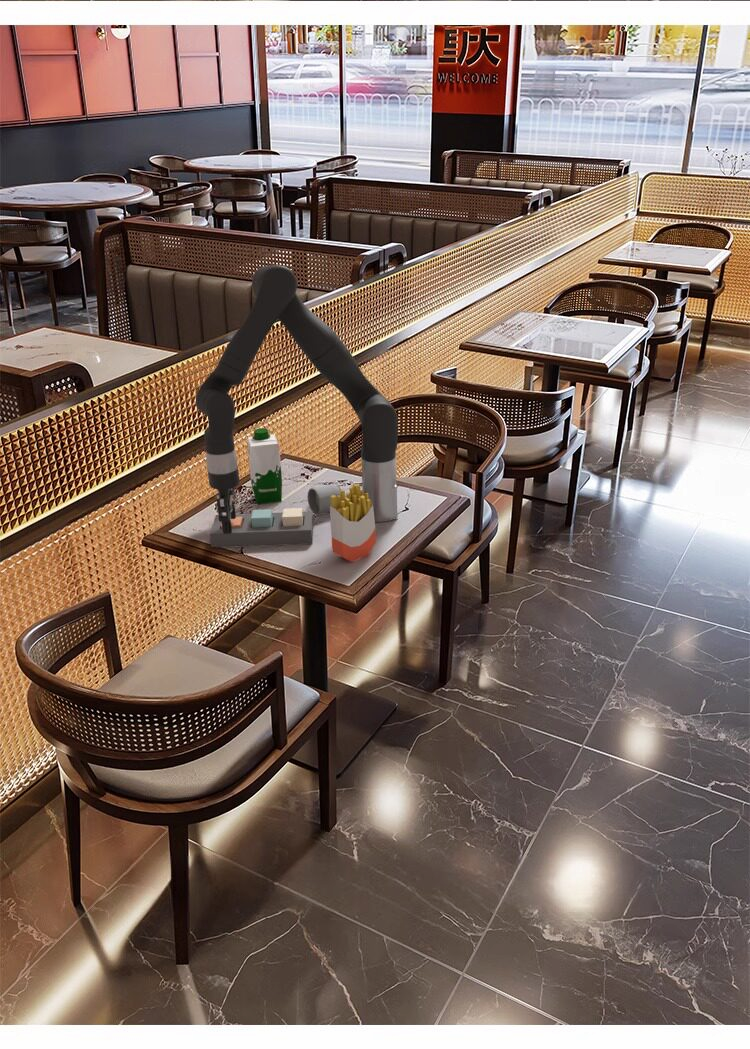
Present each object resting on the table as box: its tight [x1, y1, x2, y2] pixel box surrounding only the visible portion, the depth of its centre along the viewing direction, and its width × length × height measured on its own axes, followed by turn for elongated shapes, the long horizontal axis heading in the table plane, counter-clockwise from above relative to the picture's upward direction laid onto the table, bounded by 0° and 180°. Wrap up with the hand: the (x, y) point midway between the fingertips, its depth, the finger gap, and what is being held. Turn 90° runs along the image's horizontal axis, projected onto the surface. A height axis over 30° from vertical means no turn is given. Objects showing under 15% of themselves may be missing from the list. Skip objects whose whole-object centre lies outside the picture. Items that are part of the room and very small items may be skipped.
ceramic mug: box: [307, 484, 342, 516], centre depth 239 cm, size 11×8×8 cm
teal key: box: [251, 508, 274, 528], centre depth 224 cm, size 5×5×3 cm
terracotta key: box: [221, 517, 243, 529], centre depth 225 cm, size 5×5×3 cm
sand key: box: [282, 507, 304, 526], centre depth 224 cm, size 5×5×3 cm
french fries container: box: [329, 483, 377, 563], centre depth 211 cm, size 5×11×18 cm, turn 133°
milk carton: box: [247, 427, 283, 505], centre depth 244 cm, size 9×9×20 cm
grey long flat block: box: [209, 510, 315, 548], centre depth 226 cm, size 26×11×4 cm, turn 92°
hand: (229, 525), depth 220 cm, fingers open, 8 cm apart
